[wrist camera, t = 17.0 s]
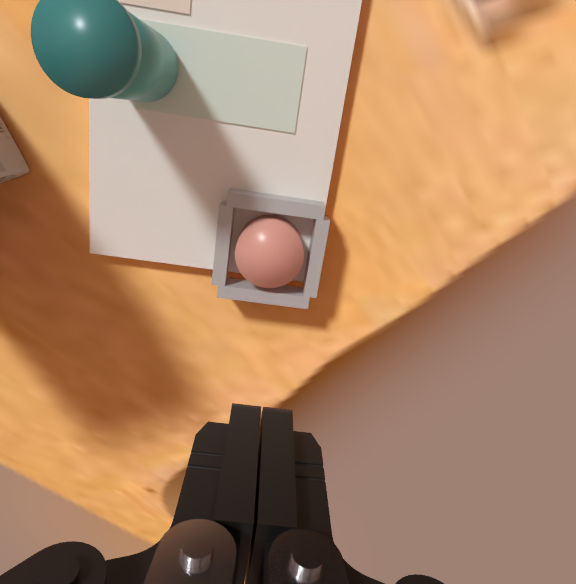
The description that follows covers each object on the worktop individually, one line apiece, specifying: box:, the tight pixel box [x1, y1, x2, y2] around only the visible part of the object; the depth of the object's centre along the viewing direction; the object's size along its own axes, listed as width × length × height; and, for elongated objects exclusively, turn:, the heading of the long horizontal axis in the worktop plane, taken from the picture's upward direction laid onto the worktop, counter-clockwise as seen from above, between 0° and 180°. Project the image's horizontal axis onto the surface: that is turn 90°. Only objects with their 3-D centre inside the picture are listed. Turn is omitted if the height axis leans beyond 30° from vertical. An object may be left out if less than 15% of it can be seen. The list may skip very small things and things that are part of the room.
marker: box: [31, 0, 178, 102], centre depth 21 cm, size 4×4×8 cm
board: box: [89, 0, 362, 309], centre depth 26 cm, size 14×19×2 cm
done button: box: [235, 215, 304, 288], centre depth 28 cm, size 4×4×2 cm
